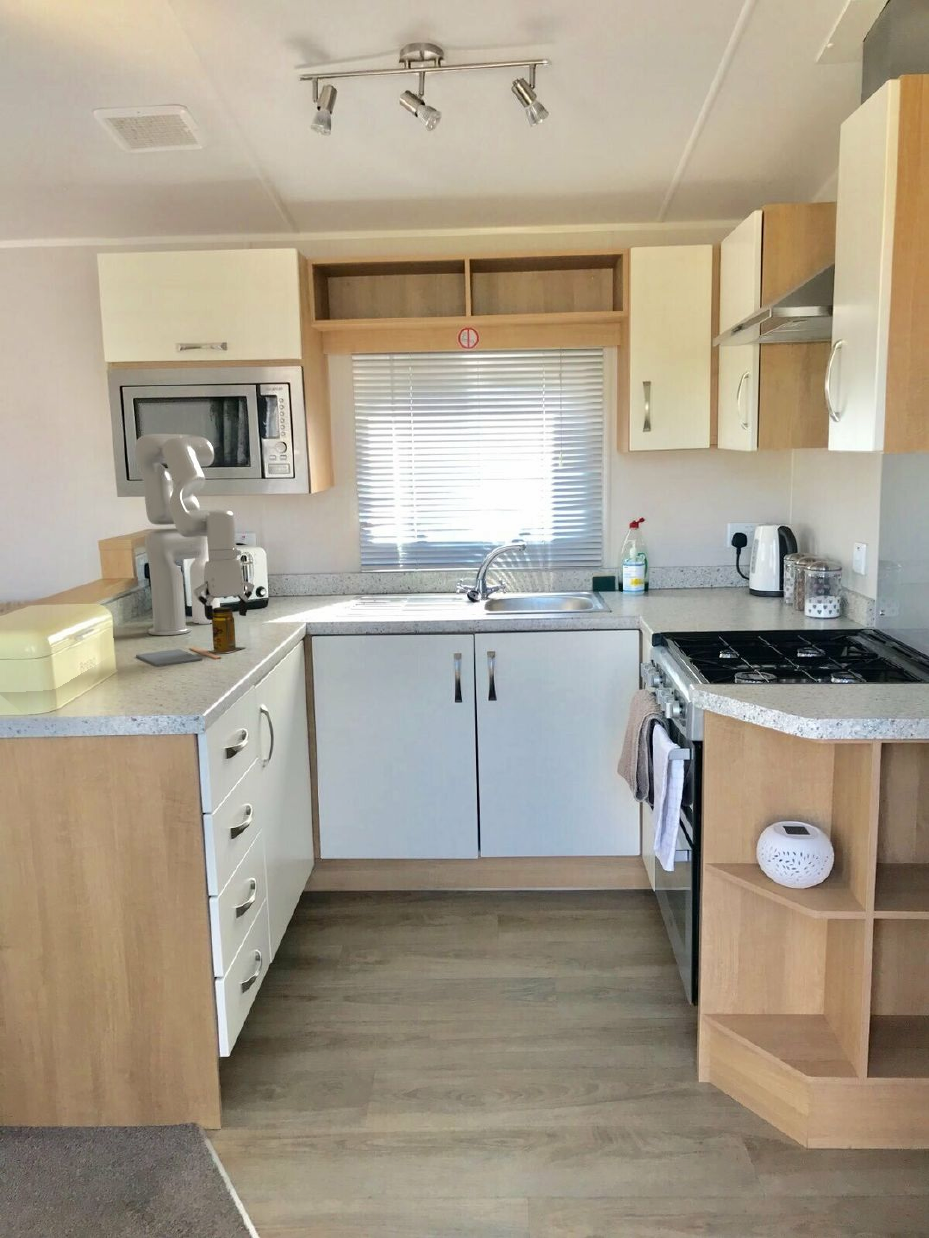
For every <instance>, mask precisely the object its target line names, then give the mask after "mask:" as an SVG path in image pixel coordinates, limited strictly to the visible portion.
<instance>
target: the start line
mask: <svg viewBox="0 0 929 1238" xmlns="http://www.w3.org/2000/svg"><path fill="white" fill-rule="evenodd" d="M189 650H191V651H193V652H195V653H198V654H201V655H204V656H207V657H208V658H210V659H213V660H218V659H221V656H219V655H216V654H214V653H212V652H211V653H210V651H205V650H203V649H202V648H198V647H195V646H193V647H192V646H191V647H189Z"/></svg>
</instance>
